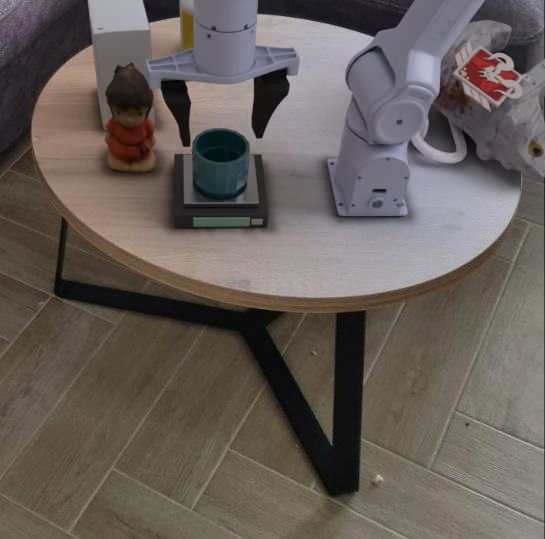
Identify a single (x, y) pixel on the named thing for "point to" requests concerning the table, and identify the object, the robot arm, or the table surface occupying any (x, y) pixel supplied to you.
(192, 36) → the pill bottle
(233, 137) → the cup
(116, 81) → the figurine
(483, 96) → the decorative emblem
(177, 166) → the scale base
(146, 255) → the table surface
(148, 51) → the small box
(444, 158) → the white looped part
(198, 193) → the pan
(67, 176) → the table surface
